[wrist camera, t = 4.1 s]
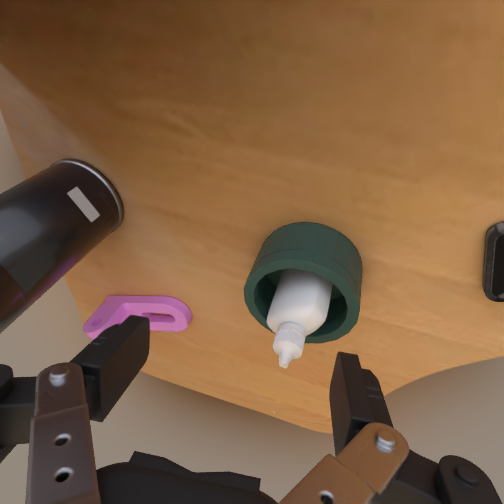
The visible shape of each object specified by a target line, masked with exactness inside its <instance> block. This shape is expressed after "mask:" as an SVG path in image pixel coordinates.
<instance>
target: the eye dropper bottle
mask: <svg viewBox="0 0 504 504" xmlns="http://www.w3.org/2000/svg"><path fill="white" fill-rule="evenodd" d="M332 285H333V283H331V282H330V281H329V280H327V279H326V278H324V277H322V276H319V275H317V274H315V273H312V272H310V271H305V270H299V269H284V270H283V272H282V274H281V277H280V280H279V283H278V286H277V289H276V292H275V295H274V298H273V301H272V303H271V306H270V310H269V313H268V316H267V324H268V326H269V328H270V329H271V330H272V331H273V332H274V333H275V334H276V337H275V340H274V343H273V350H274V352H275V353H276V354H277V355H278V356H279V366H280V367H282V368H287V367H288V365H289V363H290V361H291V360H295V359H298V358H299V357H301V355H302V352H303V347H304V342H305V338H306V336H307V335H309V334H311V333H313V332H314V331H315V330H317V329H318V328H319V327H320V326H321V325H322V324H323V323H324V322H325V320H326V317H327V313H328V308H329V303H330V297H331V291H332Z"/></svg>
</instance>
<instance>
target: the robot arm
mask: <svg viewBox="0 0 504 504" xmlns="http://www.w3.org/2000/svg"><path fill="white" fill-rule="evenodd" d="M122 219H123V207H122V203H121V200H120V198H119V195H118V194H117V192H116V190H115V188H114V187H113V186H112V184H111V183H110V182H109V181H108V179H107V178H106V177H105V176H104V175H102V174H101V173H100V172H99V171H98V170H96V169H95V168H93V167H92V166H90V165H88V164H86V163H84V162H82V161H79V160H75V159H63V160H60V161H58V162H56V163H54V164H53V165H51V166H50V167H49V168H47V169H46V170H43V171H41V172H40V173H38V174H36V175H34V176H32V177H31V178H29V179H27V180H25V181H23V182H22V183H20V184H18V185H16V186H14V187H13V188H11V189H9V190H7V191H5V192H3V193H2V194H0V333H1V332H3V331H4V330H5V329H6V328H7V327H8V326H9V325H10V324H11V323H12V322H14V321H15V320H16V319H17V318H18V317H19V316H20V315H21V314H22V313H23V312H24V311H25V310H26V309H28V308H29V307H30V306H31V305H32V304H33V303H34V302H35V301H36V300H37V299H39V298H40V297H41V296H42V295H43V294H44V293H45V292H46V291H47V290H48V289H49V288H51V287H52V286H53V285H54V284H55V283H56V282H57V281H58V280H59V279H60V278H61V277H63V276H64V275H65V274H66V273H67V272H68V271H69V270H70V269H71V268H72V267H73V266H75V265H76V264H77V263H78V262H79V261H80V260H81V259H82V258H83V257H84V256H86V255H87V254H88V253H89V252H90V251H91V250H92V249H93V248H94V247H95V246H97V245H98V244H99V243H100V242H101V241H102V240H103V239H104V238H105V237H106V236H107V235H109V234H110V233H111V232H113V231H114V230H115V229H116V228H118V226H119V225H120V224H121V222H122ZM149 341H150V320H149V318H148V317H143V316H137V315H130V316H128V317H127V318H126V319H125V320H124V321H123V322H122V323H121V324H115V325H113V326H110V327H108V328H106V329H105V330H103V331H102V332H101V333H100V334H99V335H98V336H97V338H95V339H94V340H93V341H92V342H91V344H88V345H87V346H86V347H85V348H84V349H83V350H82V351H81V352H80V353H79V354H78V355H77V356H76V357H74V358H73V359H72V360H71V361H70V362H69V363H58V364H55V365H52V366H49V367H48V368H46V369H44V370H43V371H41V372H40V374H39V375H38V376H37V377H13V371H12V368H11V367H10V366H7V365H4V364H0V463H1V462H2V461H3V459H5V457H6V456H7V455H8V454H9V453H10V452H11V450H12V449H13V448H14V447H15V446H16V445H17V444H25V443H29V456H28V471H27V486H26V501H25V504H502V502H501V500H500V498H499V496H498V494H497V492H496V490H495V488H494V486H493V484H492V482H491V480H490V479H489V477H488V476H487V475H486V474H485V473H484V472H483V471H482V470H481V469H480V468H479V467H477V466H476V465H475V464H473V463H472V462H470V461H468V460H466V459H464V458H461V457H458V456H454V455H448V456H444V457H442V458H441V460H440V461H439V464H438V463H436V462H433V461H432V460H429V459H427V458H425V457H423V456H420V455H418V454H417V453H415V452H413V451H412V450H410V449H409V446H408V443H407V441H406V440H405V438H404V437H403V436H402V435H401V434H400V433H399V432H398V431H397V430H395V429H394V427H393V424H392V422H391V419H390V415H389V412H388V409H387V406H386V403H385V400H384V396H383V393H382V391H381V387H380V384H379V381H378V379H377V378H376V377H375V375H374V374H373V373H372V372H371V371H370V370H367V369H362V368H361V365H360V362H359V358H358V355H355V354H350V353H344V352H338V354H337V357H336V362H335V366H334V371H333V375H332V380H331V384H330V408H331V418H332V427H333V436H334V446H335V455H336V457H334V456H332V455H331V454H328V455H326V456H325V457H324V458H323V459H322V460H321V461H320V462H319V463H318V464H317V465H316V466H315V467H314V468H313V469H312V470H311V471H310V472H309V473H308V474H307V475H306V476H305V477H304V478H303V479H302V480H301V481H300V482H299V483H298V484H297V485H296V486H295V487H294V488H293V489H292V490H291V491H290V492H289V493H288V494H287V495H286V496H285V497H284V498H283V499H282V500H281V501H280V502H279V503H277V502H276V501H275V500H274V499H273V498H271V497H270V496H268V495H267V494H265V493H263V492H261V491H260V490H259V487H260V480H261V479H260V478H256V477H251V476H246V475H242V474H237V473H233V472H202V473H201V472H200V473H196V472H191V471H190V470H188V469H186V468H184V467H182V466H180V465H178V464H176V463H174V462H172V461H170V460H168V459H166V458H164V457H160V456H155V455H150V454H146V453H141V452H137V451H134V453H133V455H132V457H131V459H130V461H129V462H122V463H116V464H112V465H108V466H105V467H103V468H100V469H98V470H96V466H95V458H94V450H93V443H92V435H91V426H90V420H93V421H98V422H103V420H104V419H105V418H106V416H107V415H108V414H109V412H110V411H111V409H112V408H113V407H114V405H115V404H116V402H117V401H118V400H119V398H120V397H121V395H122V394H123V393H124V391H125V390H126V389H127V387H128V386H129V385H130V383H131V382H132V380H133V379H134V378H135V376H136V375H137V374H138V372H139V371H140V369H141V368H142V367H143V365H144V364H145V362H146V360H147V357H148V354H149Z"/></svg>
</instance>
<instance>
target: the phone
mask: <svg viewBox="0 0 504 504" xmlns="http://www.w3.org/2000/svg"><path fill="white" fill-rule="evenodd" d="M483 289H484V292H485V294H486V296H487V298H488V299H490V300H492V301H495V302H504V222H503V223H498V224H496V225H494V226H492V227H491V228H490V229H489V230H488V231H487V234H486V242H485V257H484V271H483Z"/></svg>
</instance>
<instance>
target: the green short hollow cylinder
mask: <svg viewBox="0 0 504 504" xmlns="http://www.w3.org/2000/svg"><path fill="white" fill-rule="evenodd" d="M284 269H299V270H305V271H310V272H312V273H315V274H317V275H319V276H322V277H324V278H326V279H327V280H329V281H330V282H331V283H333V285H332V291H331V297H330V303H329V308H328V313H327V317H326V320H325V322H324V323H323V324H322V325H321V326H320V327H319V328H318V329H317V330H315V331H314V332H313V333H311V334H309V335H307V336H306V338H305V342H304V343H324V342H329V341H333V340H337V339H338V338H340V337H342V336H344V335H346V334H347V333H349V332H350V330H351V329H352V328H353V327H354V325H355V324H356V323H357V320H358V315H359V311H360V298H361V284H362V262H361V258H360V255H359V253H358V251H357V249H356V248H355V246H354V245H353V244H352V242H351V241H350V240H349V239H348V238H347V237H345V236H344V235H343V234H341V233H340V232H338V231H336V230H335V229H332V228H330V227H328V226H325V225H321V224H316V223H308V222H302V223H293V224H289V225H286V226H283V227H281V228H279V229H277V230H276V231H274V232H273V233H272V234H271V235H270V236H269V237H268V238H267V239H266V241H265V242H264V244H263V246H262V248H261V250H260V252H259V254H258V257H257V259H256V261H255V263H254V265H253V268H252V270H251V272H250V274H249V276H248V279H247V282H246V284H245V287H244V297H245V303H246V305H247V307H248V309H249V311H250V313H251V314H252V315H253V316H254V318H255V319H256V320H257V321H258V322H259V323H260V324H261V325H262V326H264V327H265V328H267V329H268V330H270V331H271V332H273V331H272V330H271V329H270V328H269V326H268V324H267V316H268V313H269V310H270V306H271V303H272V301H273V298H274V295H275V292H276V289H277V286H278V283H279V280H280V277H281V274H282V272H283V270H284ZM273 333H274V332H273ZM274 334H275V333H274Z"/></svg>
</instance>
